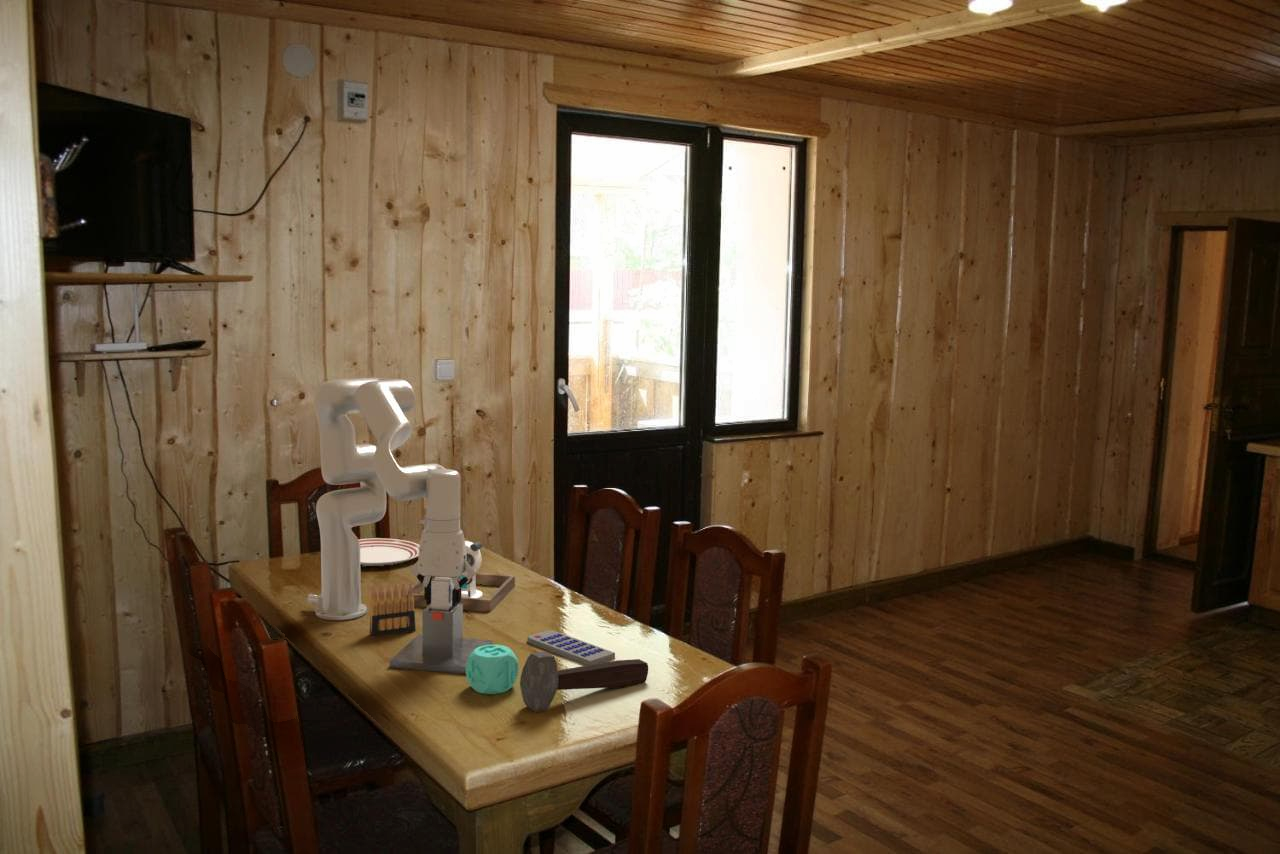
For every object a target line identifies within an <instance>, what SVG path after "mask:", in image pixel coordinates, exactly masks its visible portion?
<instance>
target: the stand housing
mask: <svg viewBox="0 0 1280 854" xmlns="http://www.w3.org/2000/svg"><path fill="white" fill-rule="evenodd" d="M463 611H464V610H463V604H458V605H457V606H456V607H454V608H453V609H452V610H451V611H450V612H449V611H436V610H431V604H430V605H429V606H428V607H424V609H423V610H422V613H421V615H422V621H421V622H422V632H421V633H422V634H417V635H416V636H415V637H414V638H413V639H412V640H411V641H410V642H408V644H406V645H405V646H404V647H403V648H402V649H401V650H400V651H398V652H397V653H396V654H395V655H394V656H393V657H392V658H391V659H390V660H389V668H392V669H405V670H415V671H426V672H427V671H429V672H440V673H441V672H442V673H453V674H463V675H464V674H465V675H466V664H467V660H468V658H469V656H470V655H471V653H472V652H473V651H474V650H475V649H476V648H478V647H480V646H484V645H494V644H493V641H494V640H493V639H483V638H470V637H469V638H467V637H463V631H464V630H463V628H464V627H463V626H464V625H463V624H464V623H463V622H464V619H463V617H464V616H463V615H464V612H463Z"/></svg>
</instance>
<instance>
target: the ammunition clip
mask: <svg viewBox="0 0 1280 854" xmlns="http://www.w3.org/2000/svg"><path fill="white" fill-rule="evenodd" d="M412 585H413V583H412V582H409V584H408V588H409V589H408V588H407V589H408V599H406V590H407V589H406V585H405V583H404V582H403V583H402V584H401V587H400V594H399V586H398V584H397V583H396V584H395V585H394V587H393V597H392V588H391V586H390V584H387V587H386V595H385V590H384V587H383V585H380V586H379V587H380V588H379V590H378V591H379V592H377V588H376V586H373V587H372V591H371V603H370V618H369V619H370V621H369V635H370V636H371V637H372V636H374V637H380V636H388V635H395V634H404V633H411V632H416V611H415V606H414V596H413V586H412ZM399 595H400V597H399ZM385 599H386V600H385Z"/></svg>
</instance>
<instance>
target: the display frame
mask: <svg viewBox="0 0 1280 854" xmlns="http://www.w3.org/2000/svg"><path fill="white" fill-rule="evenodd" d="M434 578H435V577H433V579H434ZM433 579H432V580H433ZM480 584H482V585H483V586H494V585H496V586H497V587H498V588H497V590H495V591H494V592H493V593H492V594H491V595H490V596H489V597H488V598H482V597H481V598H467V597H461V602H459V604H463V611H476V612H492V611H493V609H494V608H496V607H497V606H498V604H500V602H501V601H502V600H504V598H505V597H506V596H507V595H508V594H509V593H510V591H512V590H513V589H514V588H515V587H516V575H513V574H499V573H498V574H497V573H486V572H485V573H484V572H476V585H480ZM412 586H413V596H414V607H424V608H427V607H428V606H429V605H430V604H429V605H426V600H425V598H424V593H423V594H422V592H423V591H424V587H423V585H422V583H421V582H420V581H419V580H417V581H416V582H415V583H414V584H412ZM514 586H515V587H514ZM408 589H409V587H408V588H407V589H406V599H408ZM421 591H422V592H421ZM420 592H421V593H420ZM419 593H420V594H419Z"/></svg>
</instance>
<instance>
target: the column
mask: <svg viewBox="0 0 1280 854" xmlns="http://www.w3.org/2000/svg"><path fill="white" fill-rule="evenodd" d="M453 589H454V584H453V581H452V578H446V577H435V578H434V579H433V580H432V581H431V610H436V611H449V612H450V611H451V610H452V609H453V608H454V607H453V606H452V590H453Z"/></svg>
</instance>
